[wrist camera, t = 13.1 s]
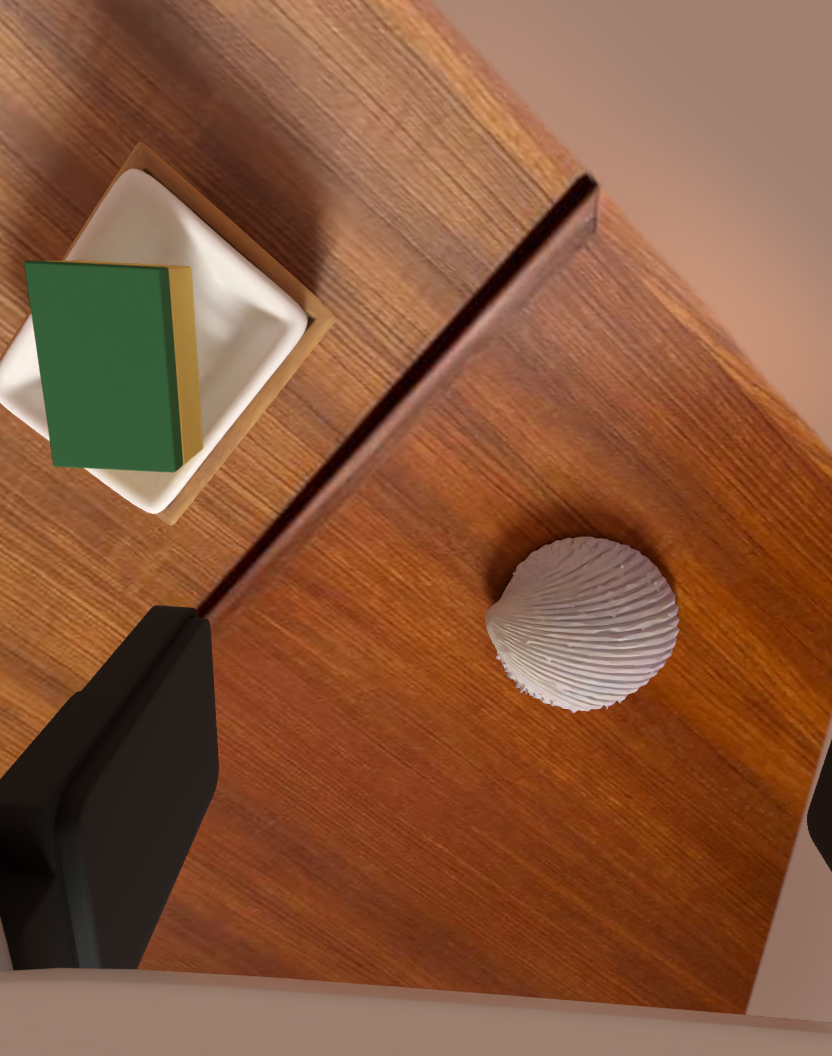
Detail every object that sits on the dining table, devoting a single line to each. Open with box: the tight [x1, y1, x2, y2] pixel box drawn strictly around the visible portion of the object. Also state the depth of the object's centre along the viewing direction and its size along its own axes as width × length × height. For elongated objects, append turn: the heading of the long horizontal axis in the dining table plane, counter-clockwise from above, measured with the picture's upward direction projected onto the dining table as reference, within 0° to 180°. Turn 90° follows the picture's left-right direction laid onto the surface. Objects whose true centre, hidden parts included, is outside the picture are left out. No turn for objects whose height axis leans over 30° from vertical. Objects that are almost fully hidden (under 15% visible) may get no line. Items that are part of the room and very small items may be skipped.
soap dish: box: [0, 142, 337, 525], centre depth 30 cm, size 12×10×5 cm
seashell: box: [485, 537, 679, 713], centre depth 36 cm, size 10×6×10 cm
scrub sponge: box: [24, 260, 203, 473], centre depth 27 cm, size 7×5×4 cm, turn 177°
